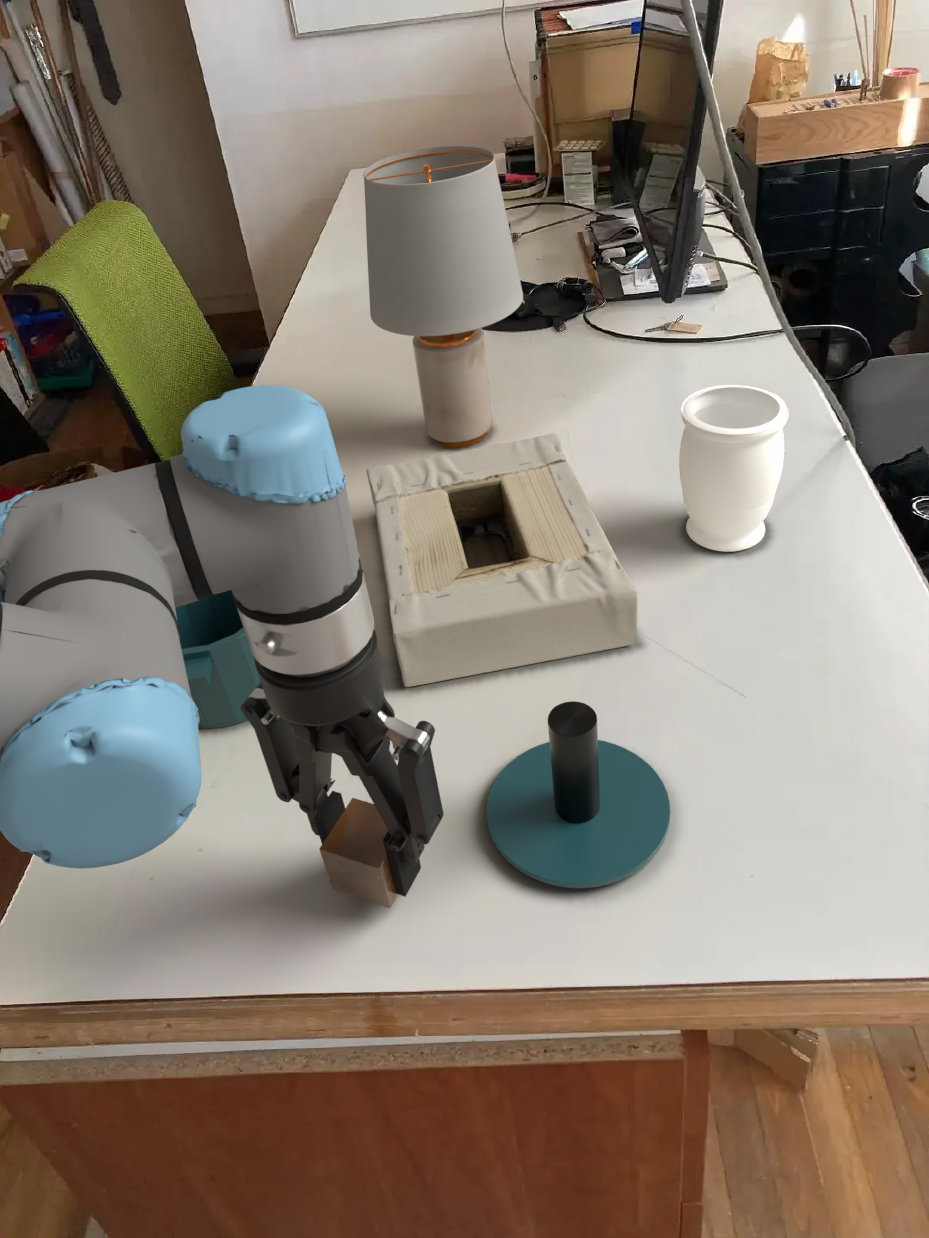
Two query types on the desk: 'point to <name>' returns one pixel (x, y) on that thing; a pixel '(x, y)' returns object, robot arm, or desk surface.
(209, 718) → the pot
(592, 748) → the lid
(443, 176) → the lamp
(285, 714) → the robot arm
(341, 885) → the block
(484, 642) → the box
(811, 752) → the desk surface
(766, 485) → the jar
